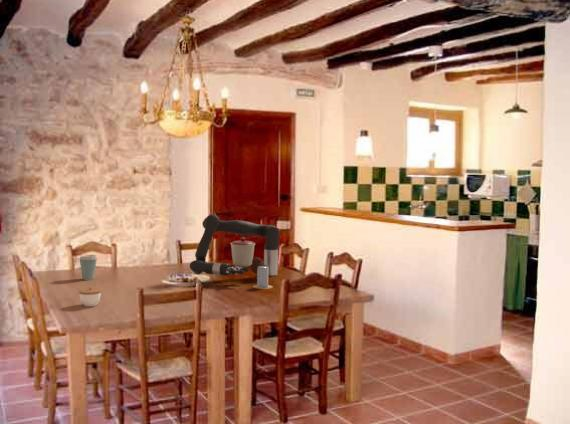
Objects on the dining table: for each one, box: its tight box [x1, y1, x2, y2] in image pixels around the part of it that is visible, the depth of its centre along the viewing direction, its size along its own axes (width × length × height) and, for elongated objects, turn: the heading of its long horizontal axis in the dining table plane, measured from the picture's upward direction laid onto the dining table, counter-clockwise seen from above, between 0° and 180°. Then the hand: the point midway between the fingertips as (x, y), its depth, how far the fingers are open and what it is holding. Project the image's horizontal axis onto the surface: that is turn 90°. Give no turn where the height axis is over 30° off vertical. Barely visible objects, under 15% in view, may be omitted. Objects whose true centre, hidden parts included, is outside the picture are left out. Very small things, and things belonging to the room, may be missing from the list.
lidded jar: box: [78, 286, 102, 307], centre depth 310 cm, size 11×11×9 cm
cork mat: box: [252, 284, 273, 290], centre depth 363 cm, size 12×12×1 cm
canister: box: [230, 236, 256, 268], centre depth 435 cm, size 18×18×21 cm
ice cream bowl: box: [249, 256, 267, 281], centre depth 385 cm, size 11×11×15 cm
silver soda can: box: [256, 266, 269, 288], centre depth 363 cm, size 6×6×12 cm
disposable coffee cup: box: [79, 254, 98, 281], centre depth 376 cm, size 11×11×15 cm
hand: (245, 271), depth 366 cm, fingers open, 8 cm apart
